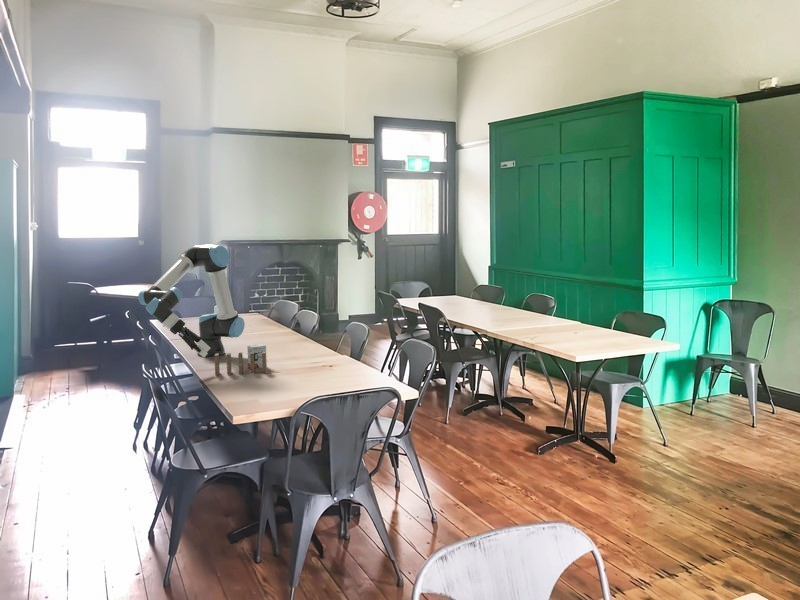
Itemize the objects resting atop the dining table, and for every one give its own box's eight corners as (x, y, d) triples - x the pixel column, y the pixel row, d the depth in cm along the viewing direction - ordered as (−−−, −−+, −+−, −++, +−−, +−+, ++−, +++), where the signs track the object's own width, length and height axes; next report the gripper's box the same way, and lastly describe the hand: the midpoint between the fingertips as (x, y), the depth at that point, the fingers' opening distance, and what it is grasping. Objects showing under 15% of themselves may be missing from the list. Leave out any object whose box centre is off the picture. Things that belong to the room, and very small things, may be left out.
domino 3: (251, 371, 345) (250, 352, 344) (254, 371, 346) (254, 351, 344) (250, 373, 340) (250, 354, 339) (254, 373, 341) (253, 353, 339)
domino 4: (263, 371, 346) (262, 351, 345) (266, 370, 346) (265, 351, 345) (262, 373, 341) (261, 353, 340) (266, 373, 342) (265, 353, 340)
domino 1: (228, 372, 344) (227, 353, 342) (231, 372, 344) (230, 352, 343) (227, 374, 339) (226, 355, 337) (230, 374, 339) (229, 354, 338)
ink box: (251, 369, 350) (250, 347, 348) (247, 368, 353) (246, 345, 352) (267, 367, 355) (266, 345, 353) (263, 365, 359) (262, 343, 357)
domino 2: (239, 372, 344) (238, 352, 343) (243, 371, 345) (242, 352, 343) (239, 374, 340) (238, 354, 338) (242, 374, 340) (241, 354, 339)
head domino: (216, 373, 343) (215, 353, 341) (219, 372, 343) (218, 353, 342) (215, 375, 338) (214, 355, 337) (218, 375, 338) (217, 355, 337)
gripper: (173, 325, 346) (204, 353, 350) (164, 334, 321) (199, 363, 326) (183, 314, 346) (215, 342, 350) (175, 322, 321) (210, 352, 326)
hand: (207, 352), depth 338 cm, fingers open, 13 cm apart
